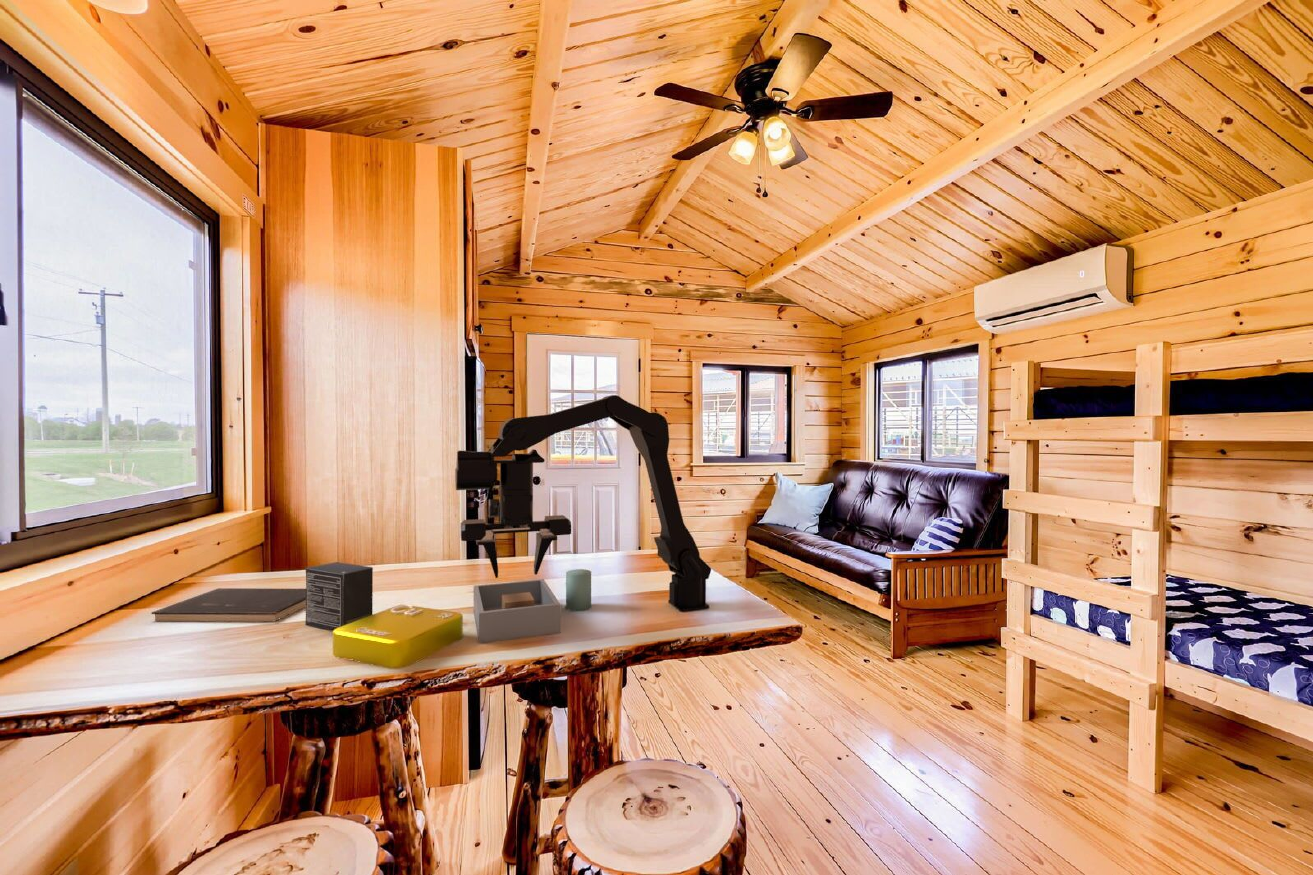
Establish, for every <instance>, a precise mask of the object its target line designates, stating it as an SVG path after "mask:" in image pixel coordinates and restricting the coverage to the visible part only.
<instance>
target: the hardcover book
mask: <svg viewBox="0 0 1313 875" xmlns="http://www.w3.org/2000/svg"><path fill="white" fill-rule="evenodd" d="M305 606H306V588H269V587H268V588H266V587H265V588H263V587H262V588H259V587H258V588H251V587H250V588H247V587H246V588H245V587H243V588H242V587H240V588H239V587H238V588H237V587H235V588H234V587H233V588H232V587H231V588H230V587H228V588H227V587H226V588H225V587H224V588H222V587H220V588H219V587H218V588H216V589H213V590H210V591H207V592H204V593H202V594H201V593H200V595H196V596H193V597H191V598H187V599H185V600H182V601H179V602H177V603H174V604H172V605H169V606H168V605H167V606H165V607H163V608H160V609H158V610H154V611H152V612H151V615H154V621H156V622H159V621H162V622H163V621H164V622H165V621H166V622H263V621H275V622H276V620H277V621H279V620H280V619H279V618H281V619H283V618H285V617H287V616H288V615H287V614H289V615H291V614H294V613H295V612H297V611H299V610H302V609H303V608H306V607H305ZM298 609H299V610H298ZM286 615H287V616H286ZM278 619H279V620H278Z"/></svg>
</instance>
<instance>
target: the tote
mask: <svg viewBox="0 0 1313 875" xmlns="http://www.w3.org/2000/svg"><path fill="white" fill-rule="evenodd" d="M526 592H530V593H531V595H532V597H533V599H534V606H528V607H519V608H510V609H502V595H506V594H516V593H526ZM473 614H474V621H475V626H476V632H477V639H478V643H479V644H484V643H485V644H486V643H492V642H493V643H494V642H499V641H508V640H514V639H522V638H531V637H538V636H546V635H553V634H561V603H560V601H559V600H558V598H557V597H556V595H555V594H554V592H553V590H551V588H550V586H549V585H548V584H547V582H546V581H545V579H543V578H542V579H539V578H538V579H530V580H520V581H519V580H518V581H507V582H498V583H486V584H476V585H475V584H474V585H473Z"/></svg>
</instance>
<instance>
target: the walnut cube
mask: <svg viewBox="0 0 1313 875" xmlns="http://www.w3.org/2000/svg"><path fill="white" fill-rule="evenodd" d="M528 606H534V599H533V597H532V595H531V593H530V592H526V593H516V594H506V595H502V609H510V608H519V607H528Z"/></svg>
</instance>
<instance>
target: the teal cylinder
mask: <svg viewBox="0 0 1313 875" xmlns="http://www.w3.org/2000/svg"><path fill="white" fill-rule="evenodd" d="M565 608H566V610H567V611H571V612H584V611H588V610H590V609H592V571H591V570H590V569H581V568H579V569H577V568H576V569H571V570H568V571H566V572H565Z"/></svg>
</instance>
